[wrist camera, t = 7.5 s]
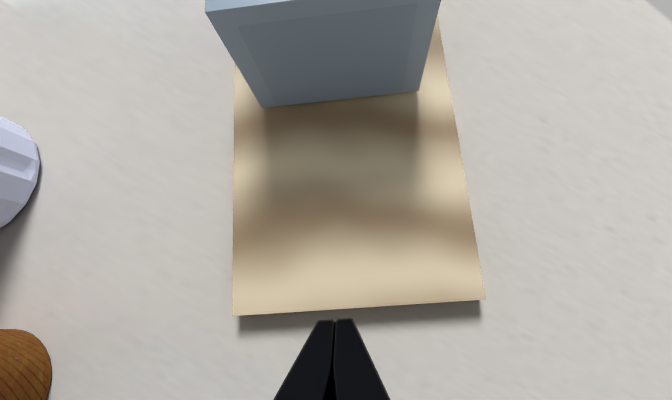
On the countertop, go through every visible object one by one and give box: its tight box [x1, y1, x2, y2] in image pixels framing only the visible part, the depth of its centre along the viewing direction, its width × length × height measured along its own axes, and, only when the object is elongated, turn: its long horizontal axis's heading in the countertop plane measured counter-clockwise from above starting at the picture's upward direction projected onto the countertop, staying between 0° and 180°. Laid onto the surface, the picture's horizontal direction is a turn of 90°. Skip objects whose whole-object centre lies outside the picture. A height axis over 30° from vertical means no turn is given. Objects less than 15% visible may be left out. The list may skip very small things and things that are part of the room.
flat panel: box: [232, 17, 486, 316], centre depth 21 cm, size 22×14×5 cm, turn 4°
